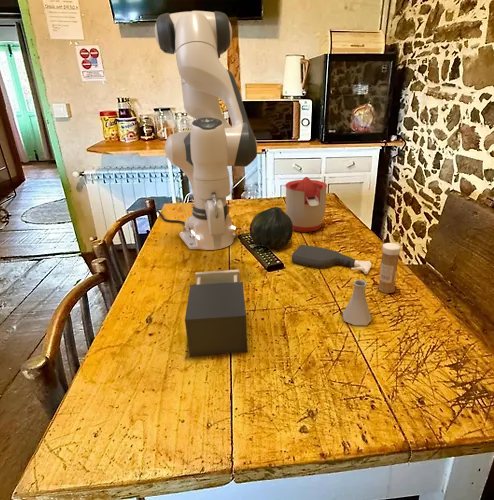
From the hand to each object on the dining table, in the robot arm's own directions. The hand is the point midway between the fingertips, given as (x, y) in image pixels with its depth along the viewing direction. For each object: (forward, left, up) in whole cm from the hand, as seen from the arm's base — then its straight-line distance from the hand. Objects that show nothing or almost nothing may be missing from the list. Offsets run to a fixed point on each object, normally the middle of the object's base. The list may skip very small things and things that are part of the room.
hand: (216, 239), depth 103 cm
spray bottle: (+7, +37, -16) cm, 41 cm away
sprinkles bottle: (+28, +37, -16) cm, 49 cm away
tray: (+7, -5, -15) cm, 17 cm away
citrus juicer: (-21, +52, -16) cm, 58 cm away
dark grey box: (+16, -10, -16) cm, 25 cm away
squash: (-17, +32, -16) cm, 39 cm away
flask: (+32, +20, -16) cm, 41 cm away
